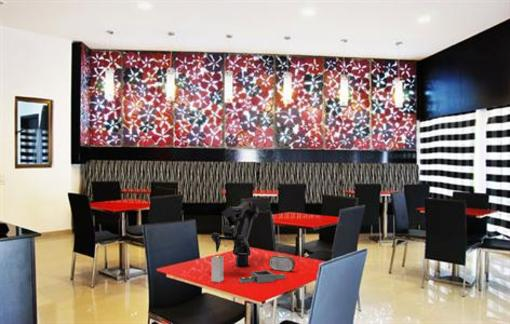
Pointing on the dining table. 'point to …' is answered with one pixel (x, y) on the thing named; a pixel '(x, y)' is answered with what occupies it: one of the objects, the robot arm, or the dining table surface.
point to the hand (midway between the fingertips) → (224, 252)
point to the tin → (282, 263)
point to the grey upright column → (217, 268)
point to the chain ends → (262, 277)
